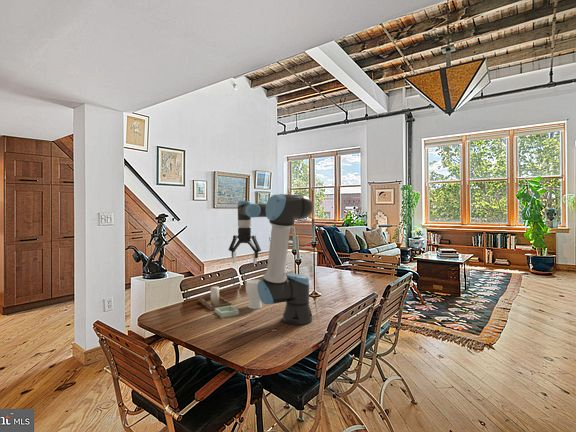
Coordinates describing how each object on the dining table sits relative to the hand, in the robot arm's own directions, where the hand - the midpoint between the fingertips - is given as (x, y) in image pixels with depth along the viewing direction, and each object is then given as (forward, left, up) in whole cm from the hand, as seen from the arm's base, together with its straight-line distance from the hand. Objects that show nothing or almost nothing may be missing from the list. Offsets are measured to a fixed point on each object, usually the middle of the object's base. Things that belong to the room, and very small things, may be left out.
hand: (244, 263), depth 198 cm
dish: (-11, +16, -24) cm, 31 cm away
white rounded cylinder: (+7, +16, -24) cm, 29 cm away
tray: (+7, +16, -24) cm, 30 cm away
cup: (-9, -2, -24) cm, 26 cm away
